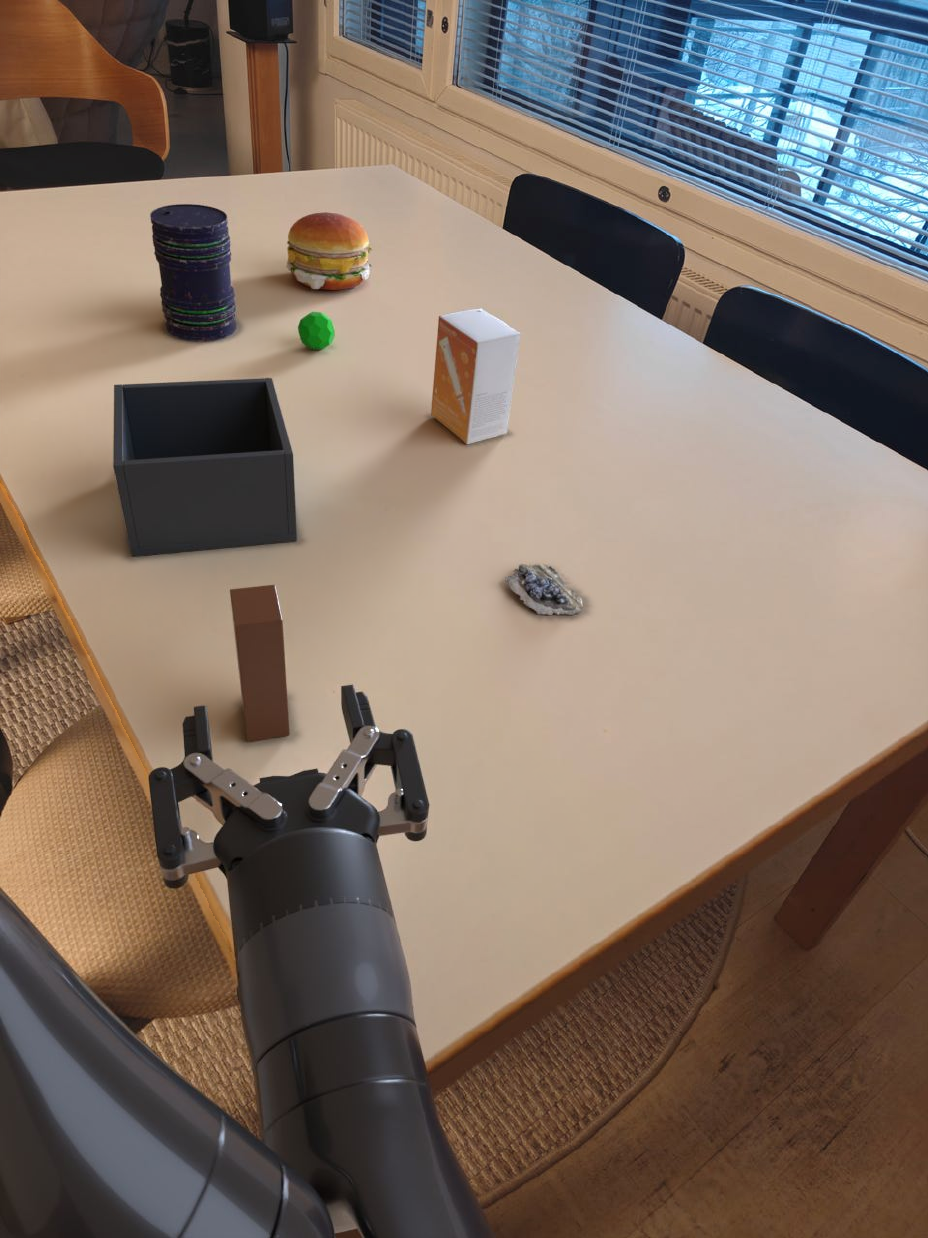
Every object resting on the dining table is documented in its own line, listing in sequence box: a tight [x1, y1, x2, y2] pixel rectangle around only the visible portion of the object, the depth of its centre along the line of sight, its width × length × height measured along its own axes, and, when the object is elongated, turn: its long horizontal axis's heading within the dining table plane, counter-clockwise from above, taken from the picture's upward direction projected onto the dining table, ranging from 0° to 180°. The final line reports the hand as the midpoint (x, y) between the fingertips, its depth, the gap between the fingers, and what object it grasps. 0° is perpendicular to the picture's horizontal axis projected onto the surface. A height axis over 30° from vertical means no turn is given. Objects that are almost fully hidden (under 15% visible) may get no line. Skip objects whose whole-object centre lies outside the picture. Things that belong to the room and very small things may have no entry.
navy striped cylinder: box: [149, 203, 237, 343], centre depth 117 cm, size 10×10×15 cm
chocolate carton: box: [229, 584, 291, 743], centre depth 64 cm, size 3×4×12 cm
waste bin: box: [112, 377, 298, 558], centre depth 86 cm, size 16×16×10 cm
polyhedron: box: [297, 311, 336, 351], centre depth 118 cm, size 5×5×5 cm
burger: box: [286, 211, 373, 291], centre depth 136 cm, size 13×14×10 cm
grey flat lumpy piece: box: [504, 563, 584, 616], centre depth 83 cm, size 7×8×2 cm
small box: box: [430, 307, 521, 445], centre depth 103 cm, size 8×6×13 cm
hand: (275, 704), depth 51 cm, fingers open, 8 cm apart
